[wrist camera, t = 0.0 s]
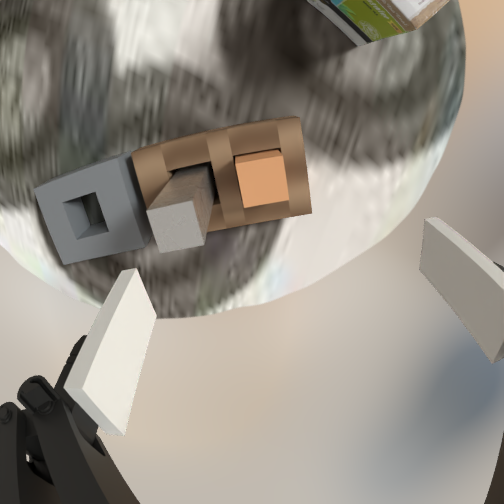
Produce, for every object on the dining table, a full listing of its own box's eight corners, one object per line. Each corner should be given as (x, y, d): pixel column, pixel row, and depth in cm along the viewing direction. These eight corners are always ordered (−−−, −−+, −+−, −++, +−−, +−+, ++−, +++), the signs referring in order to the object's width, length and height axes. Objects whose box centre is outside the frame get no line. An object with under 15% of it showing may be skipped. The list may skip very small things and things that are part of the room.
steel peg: (179, 167, 38) (146, 211, 24) (209, 161, 38) (192, 200, 24) (186, 196, 40) (160, 253, 26) (216, 190, 40) (204, 244, 25)
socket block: (140, 147, 36) (130, 153, 33) (293, 115, 35) (299, 117, 32) (164, 229, 42) (157, 241, 38) (305, 202, 41) (312, 213, 37)
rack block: (51, 178, 37) (33, 189, 32) (130, 150, 36) (116, 158, 32) (77, 248, 42) (63, 264, 38) (154, 231, 42) (145, 247, 37)
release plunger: (235, 155, 35) (235, 163, 31) (276, 148, 35) (282, 155, 30) (243, 194, 37) (244, 207, 33) (283, 187, 37) (289, 199, 33)
